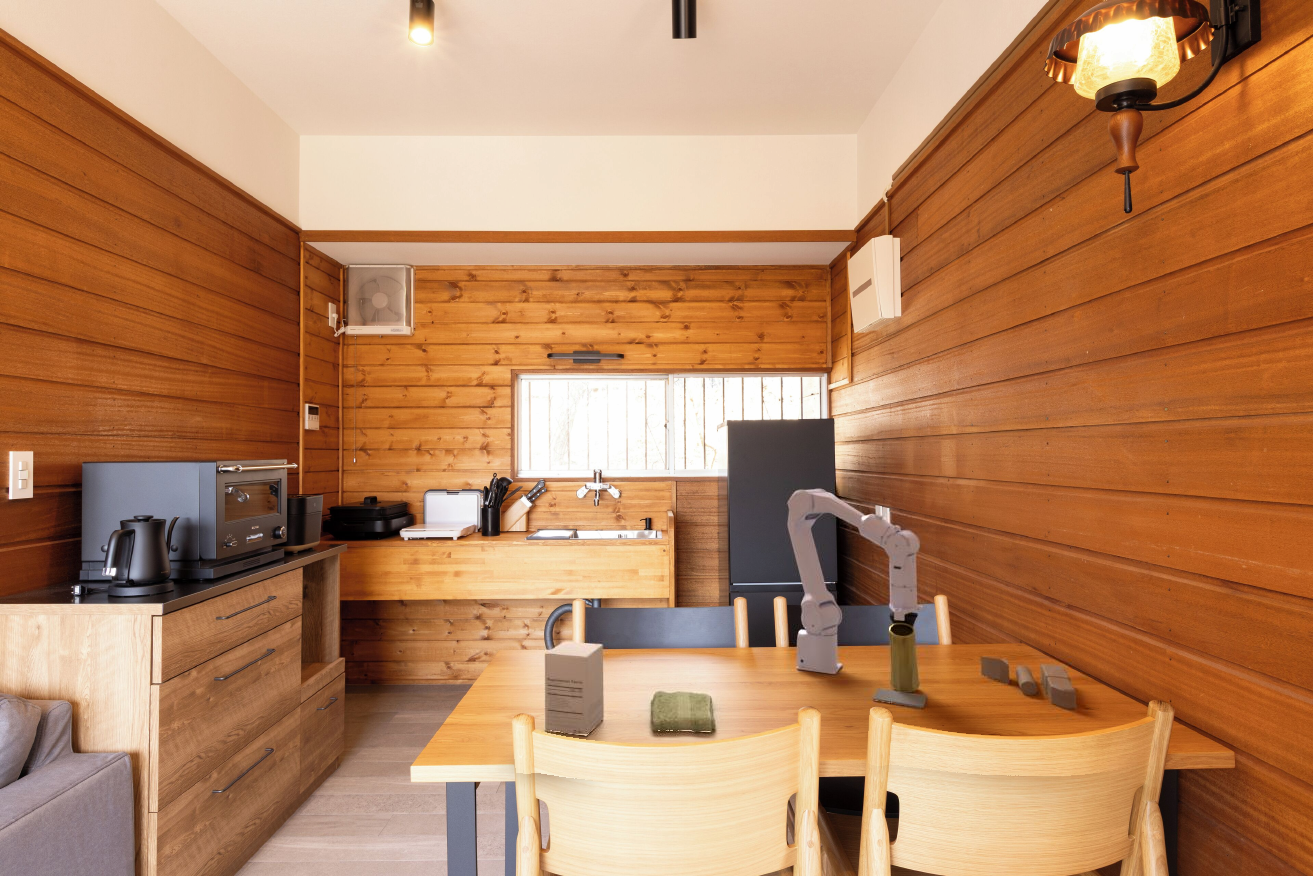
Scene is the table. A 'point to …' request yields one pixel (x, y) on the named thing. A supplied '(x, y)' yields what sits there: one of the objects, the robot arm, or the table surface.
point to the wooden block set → (1051, 679)
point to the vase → (903, 658)
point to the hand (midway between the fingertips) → (904, 646)
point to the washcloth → (682, 711)
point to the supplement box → (574, 687)
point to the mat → (900, 698)
